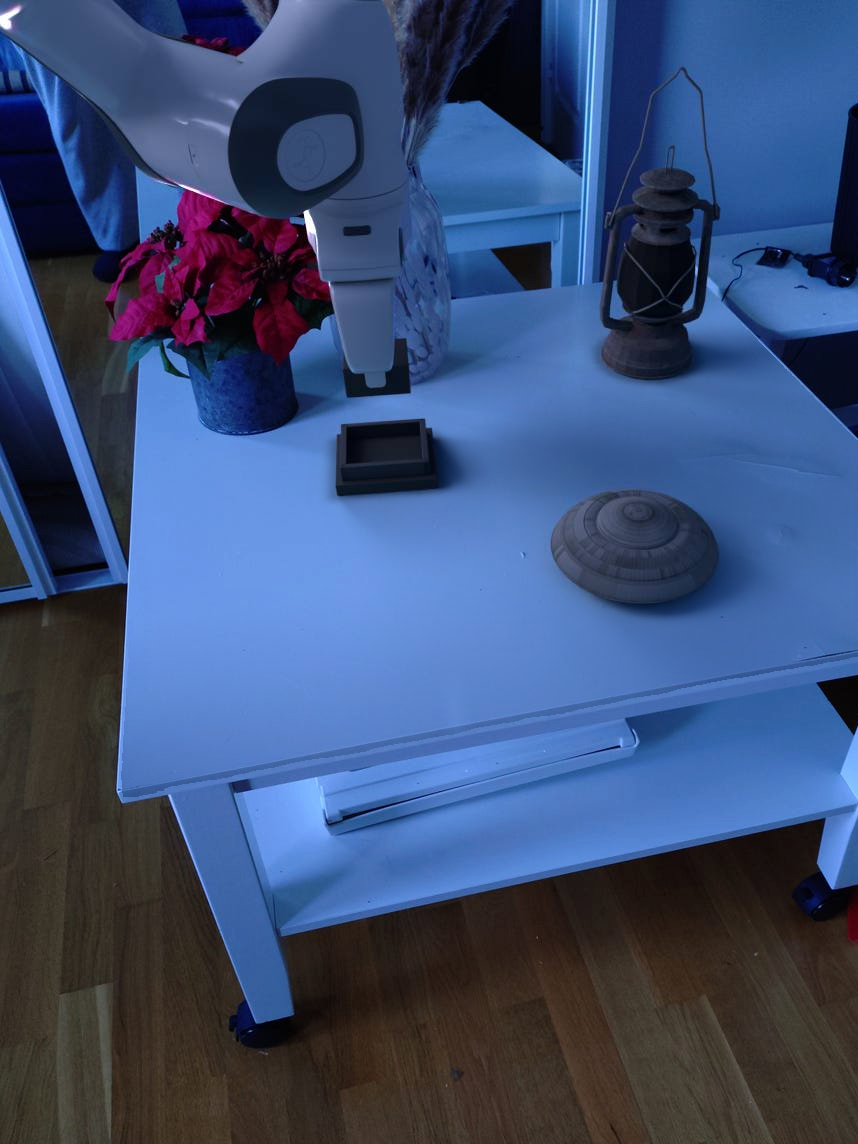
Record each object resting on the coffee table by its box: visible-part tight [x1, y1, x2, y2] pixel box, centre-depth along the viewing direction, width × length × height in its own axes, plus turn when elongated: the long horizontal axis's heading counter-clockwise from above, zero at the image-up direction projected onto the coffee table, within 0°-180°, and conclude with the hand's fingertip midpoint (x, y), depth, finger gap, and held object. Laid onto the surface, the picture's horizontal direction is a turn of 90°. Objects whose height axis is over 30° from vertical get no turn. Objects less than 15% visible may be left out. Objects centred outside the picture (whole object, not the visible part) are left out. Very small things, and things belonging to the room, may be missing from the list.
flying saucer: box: [550, 488, 720, 605], centre depth 83 cm, size 15×15×6 cm
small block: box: [342, 337, 412, 399], centre depth 87 cm, size 6×5×3 cm
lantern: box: [599, 66, 721, 380], centre depth 98 cm, size 12×11×30 cm
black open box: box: [335, 418, 439, 496], centre depth 94 cm, size 10×9×3 cm
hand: (375, 365), depth 87 cm, fingers closed on small block, 5 cm apart
